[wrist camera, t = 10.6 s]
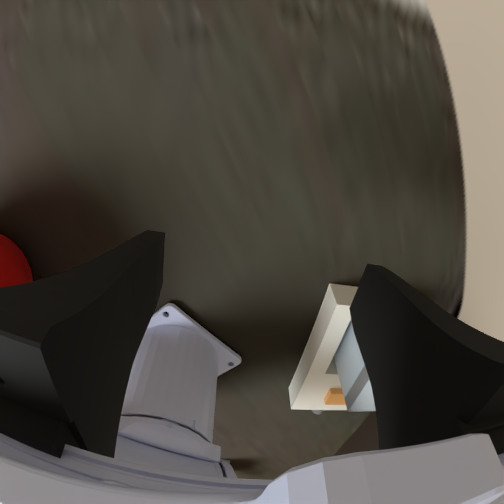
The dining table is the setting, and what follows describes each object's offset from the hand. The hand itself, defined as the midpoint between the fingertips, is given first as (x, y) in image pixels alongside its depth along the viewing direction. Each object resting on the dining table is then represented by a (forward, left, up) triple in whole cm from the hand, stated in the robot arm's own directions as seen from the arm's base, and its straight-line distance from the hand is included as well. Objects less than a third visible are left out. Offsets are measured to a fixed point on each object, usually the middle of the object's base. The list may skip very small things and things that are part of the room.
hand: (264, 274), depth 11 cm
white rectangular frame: (-4, -16, -9) cm, 19 cm away
